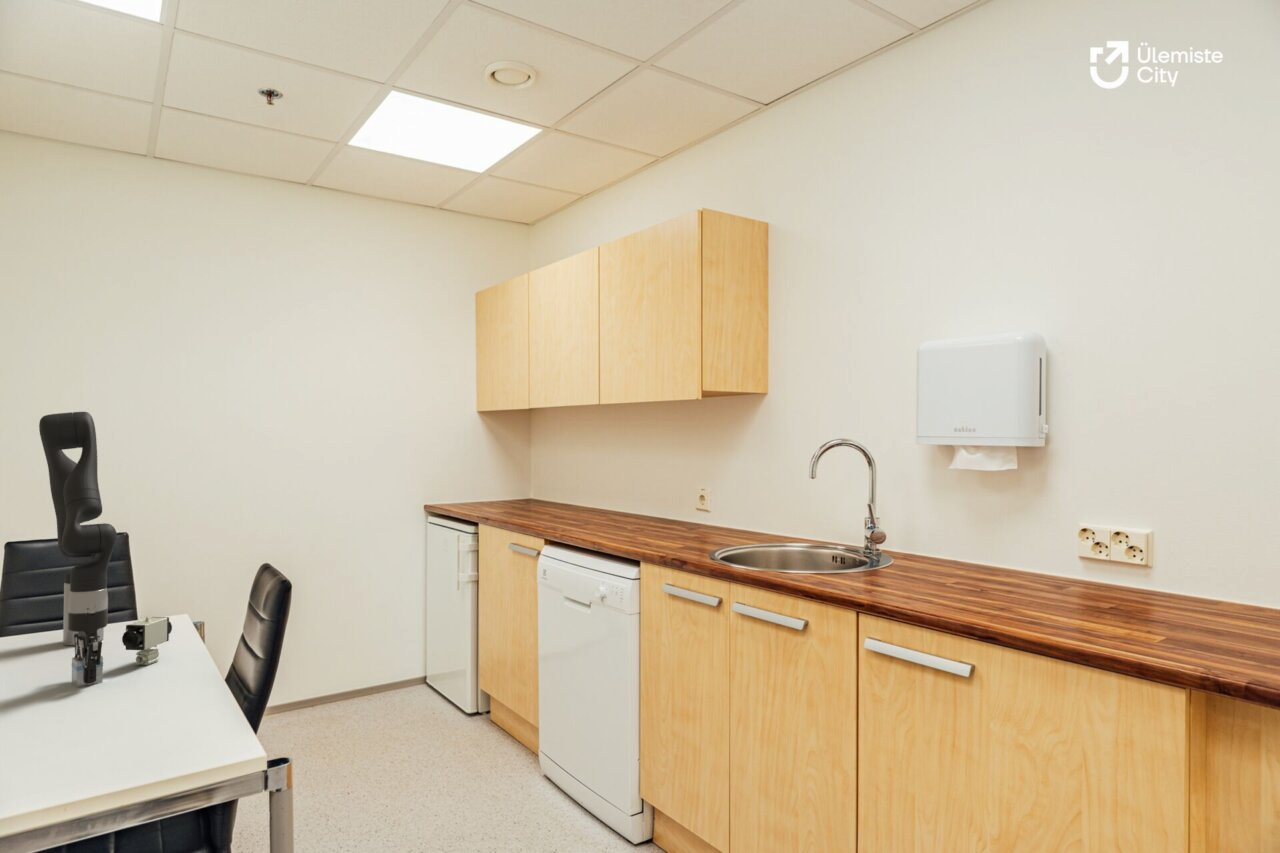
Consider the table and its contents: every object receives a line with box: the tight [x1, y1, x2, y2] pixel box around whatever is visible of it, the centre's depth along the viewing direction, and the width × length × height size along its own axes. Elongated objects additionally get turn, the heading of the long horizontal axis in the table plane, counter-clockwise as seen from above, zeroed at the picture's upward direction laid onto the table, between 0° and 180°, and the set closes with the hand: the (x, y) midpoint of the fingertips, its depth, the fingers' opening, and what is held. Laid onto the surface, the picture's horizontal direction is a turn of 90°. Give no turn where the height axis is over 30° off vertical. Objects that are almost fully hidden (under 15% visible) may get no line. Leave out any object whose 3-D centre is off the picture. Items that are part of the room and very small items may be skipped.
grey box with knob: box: [71, 653, 104, 688], centre depth 174 cm, size 5×5×7 cm
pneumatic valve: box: [121, 616, 173, 666], centre depth 190 cm, size 6×12×12 cm, turn 174°
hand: (87, 680), depth 174 cm, fingers closed on grey box with knob, 4 cm apart
